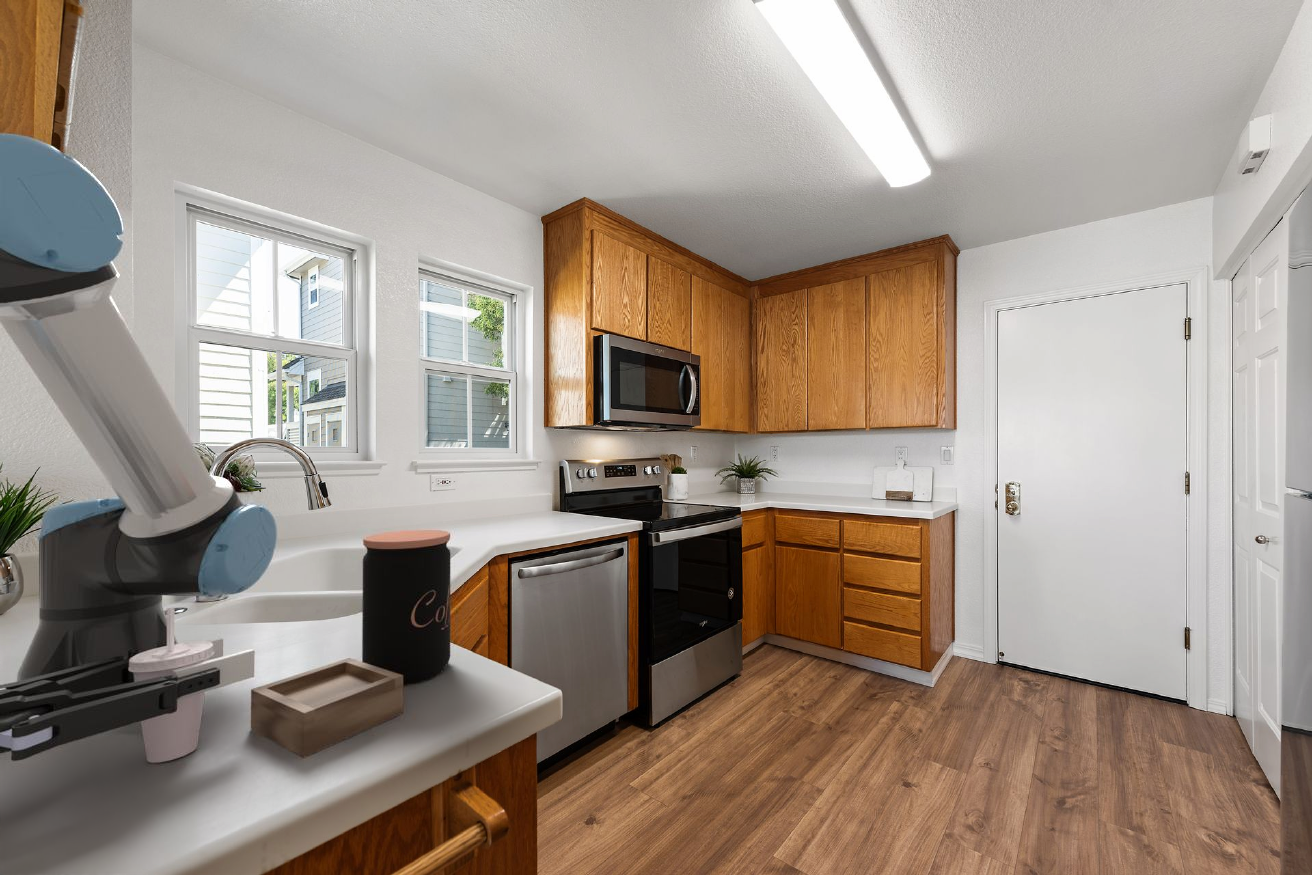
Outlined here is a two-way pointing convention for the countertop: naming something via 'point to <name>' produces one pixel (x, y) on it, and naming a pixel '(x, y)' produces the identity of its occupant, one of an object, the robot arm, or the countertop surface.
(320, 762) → the countertop surface
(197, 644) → the smoothie
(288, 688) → the wooden tray
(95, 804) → the countertop surface
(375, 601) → the coffee jar
